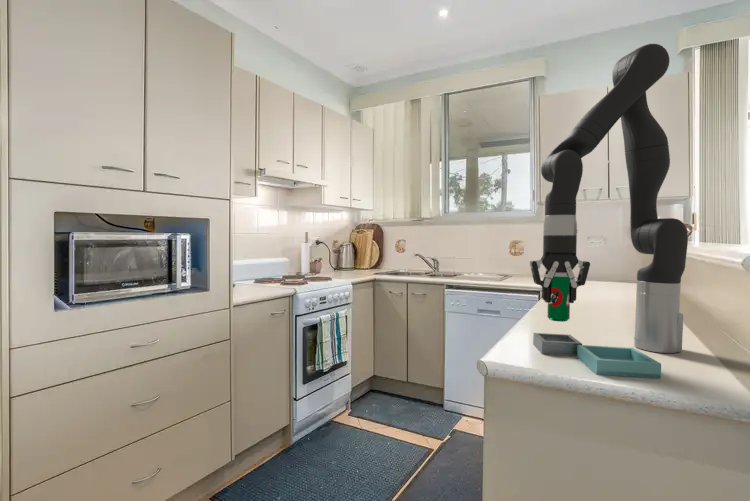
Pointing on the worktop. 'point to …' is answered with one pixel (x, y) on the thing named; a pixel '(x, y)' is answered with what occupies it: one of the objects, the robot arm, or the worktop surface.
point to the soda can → (559, 297)
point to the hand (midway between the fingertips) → (558, 302)
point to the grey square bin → (556, 344)
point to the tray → (618, 361)
